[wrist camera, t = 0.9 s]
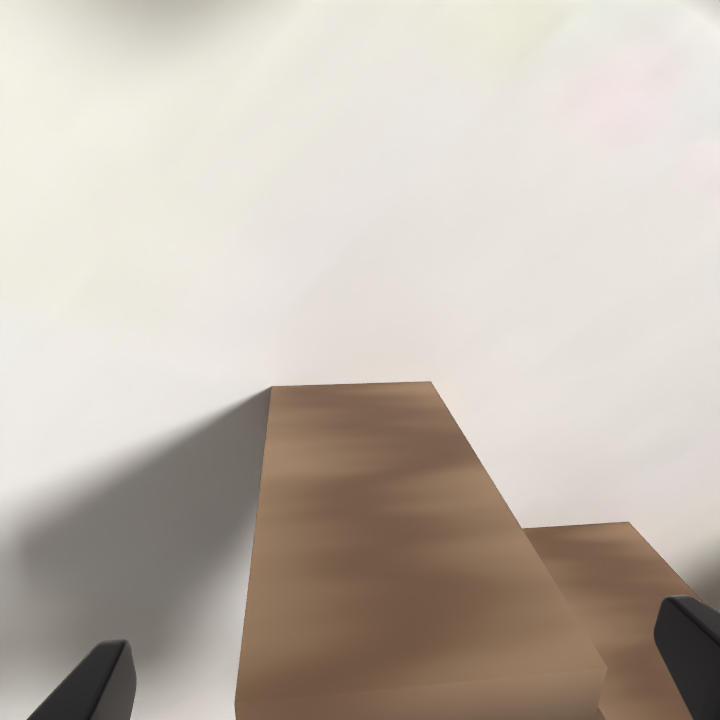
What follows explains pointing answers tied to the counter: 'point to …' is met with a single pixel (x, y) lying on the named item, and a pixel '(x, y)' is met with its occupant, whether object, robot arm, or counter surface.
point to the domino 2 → (617, 611)
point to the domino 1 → (397, 574)
